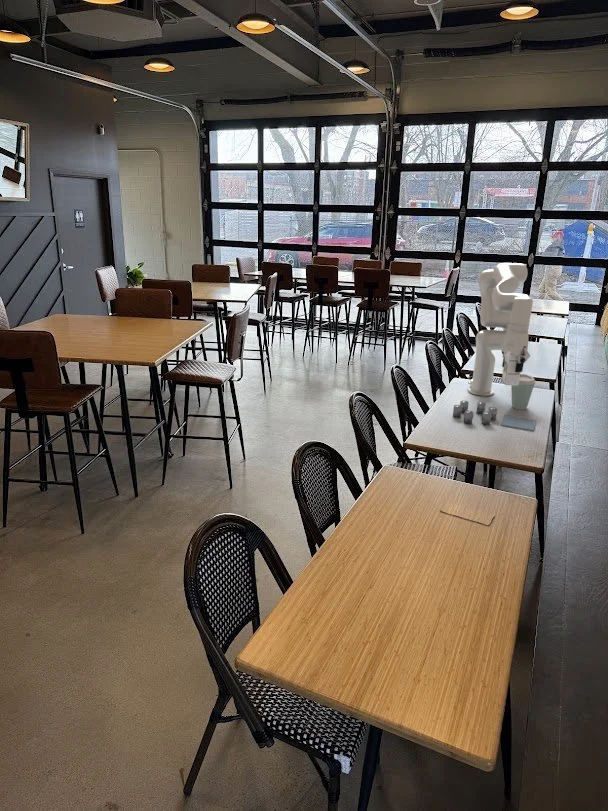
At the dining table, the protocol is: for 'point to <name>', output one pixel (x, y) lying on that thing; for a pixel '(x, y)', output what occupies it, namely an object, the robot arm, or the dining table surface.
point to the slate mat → (518, 423)
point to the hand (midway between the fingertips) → (512, 369)
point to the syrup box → (510, 370)
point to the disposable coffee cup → (522, 392)
